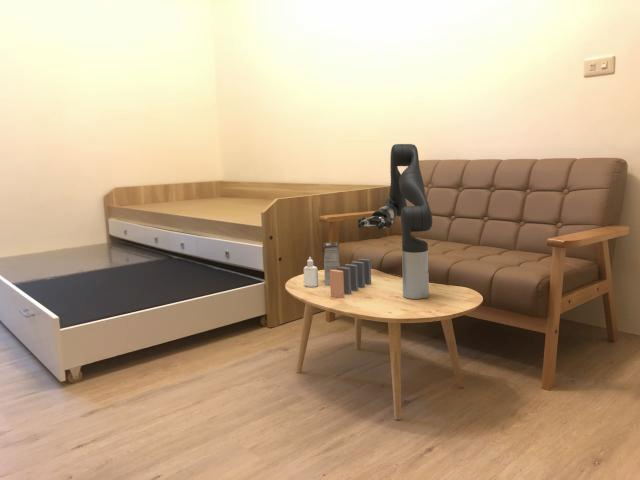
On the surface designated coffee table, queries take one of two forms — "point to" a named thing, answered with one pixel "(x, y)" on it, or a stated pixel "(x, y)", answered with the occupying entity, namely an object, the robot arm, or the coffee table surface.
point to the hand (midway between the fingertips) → (369, 226)
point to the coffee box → (330, 259)
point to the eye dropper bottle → (310, 274)
